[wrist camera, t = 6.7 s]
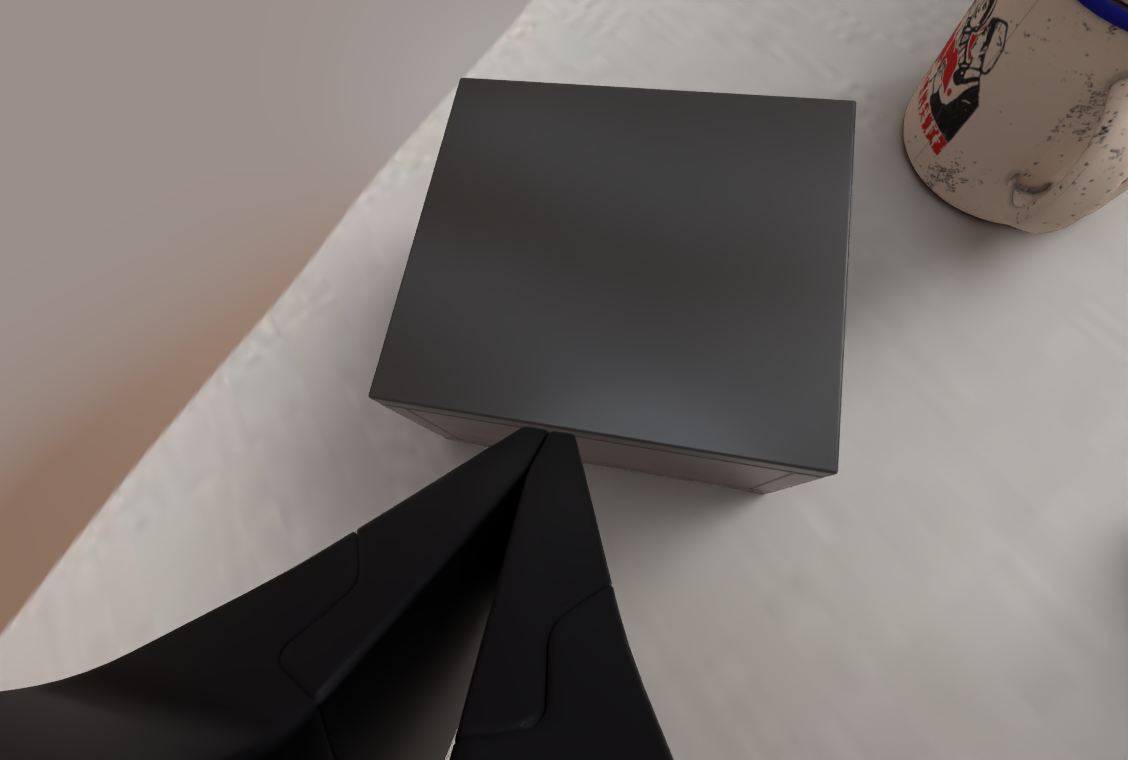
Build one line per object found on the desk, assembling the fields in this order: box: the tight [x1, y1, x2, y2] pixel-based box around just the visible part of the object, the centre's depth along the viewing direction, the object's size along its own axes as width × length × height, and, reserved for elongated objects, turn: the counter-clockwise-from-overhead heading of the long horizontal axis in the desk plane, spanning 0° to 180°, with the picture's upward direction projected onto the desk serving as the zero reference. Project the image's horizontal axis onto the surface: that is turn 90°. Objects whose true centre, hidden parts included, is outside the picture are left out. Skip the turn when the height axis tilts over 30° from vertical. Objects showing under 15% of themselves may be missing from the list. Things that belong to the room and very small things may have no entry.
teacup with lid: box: [904, 0, 1128, 233], centre depth 16 cm, size 12×9×12 cm
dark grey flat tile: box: [369, 78, 856, 477], centre depth 16 cm, size 11×13×1 cm
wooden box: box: [381, 404, 824, 494], centre depth 19 cm, size 11×13×6 cm
